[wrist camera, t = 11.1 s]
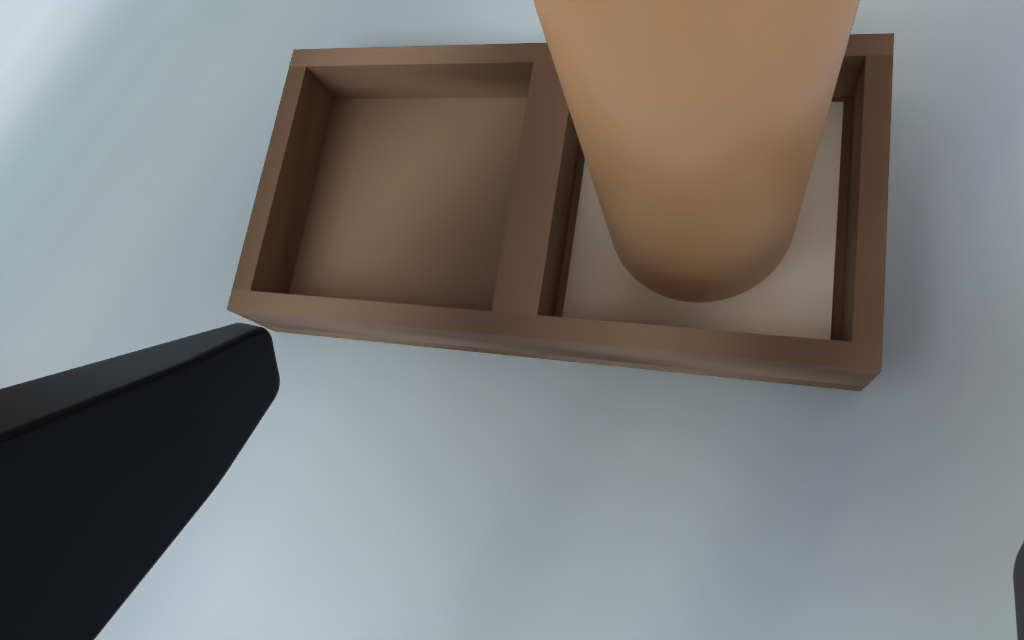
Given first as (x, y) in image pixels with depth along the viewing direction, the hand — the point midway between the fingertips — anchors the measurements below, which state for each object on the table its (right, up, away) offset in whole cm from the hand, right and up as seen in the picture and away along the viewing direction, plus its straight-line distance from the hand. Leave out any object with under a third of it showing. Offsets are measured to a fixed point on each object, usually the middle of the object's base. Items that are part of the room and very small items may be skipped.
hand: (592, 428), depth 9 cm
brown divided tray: (0, +4, +9) cm, 10 cm away
